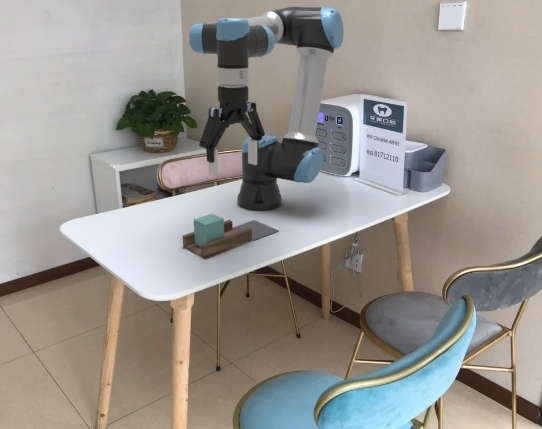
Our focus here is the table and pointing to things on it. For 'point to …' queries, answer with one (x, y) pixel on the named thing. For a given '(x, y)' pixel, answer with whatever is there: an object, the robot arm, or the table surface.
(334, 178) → the table surface
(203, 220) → the block
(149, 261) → the table surface
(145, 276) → the table surface
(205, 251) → the chute
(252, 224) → the mat
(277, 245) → the table surface
